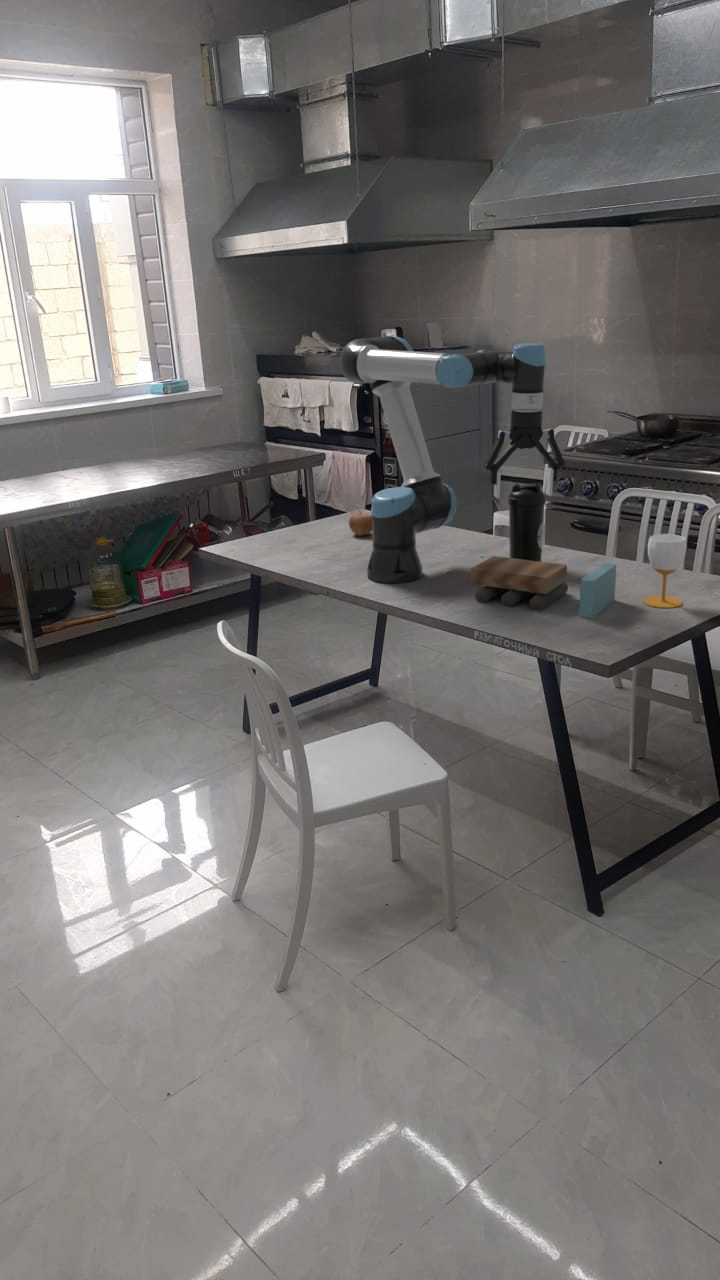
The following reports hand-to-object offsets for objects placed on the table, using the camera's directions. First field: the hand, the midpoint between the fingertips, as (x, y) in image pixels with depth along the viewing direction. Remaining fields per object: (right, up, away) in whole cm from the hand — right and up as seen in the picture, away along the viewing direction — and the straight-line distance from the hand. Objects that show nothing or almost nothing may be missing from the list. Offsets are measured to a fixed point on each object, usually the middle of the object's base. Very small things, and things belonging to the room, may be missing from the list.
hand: (522, 495), depth 243 cm
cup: (+33, -27, -9) cm, 43 cm away
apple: (-40, -3, +68) cm, 79 cm away
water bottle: (+5, -16, +26) cm, 31 cm away
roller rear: (-7, -25, +4) cm, 26 cm away
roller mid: (-1, -26, 0) cm, 26 cm away
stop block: (+16, -29, -11) cm, 34 cm away
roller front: (+5, -26, -4) cm, 27 cm away
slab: (-1, -22, -1) cm, 22 cm away
